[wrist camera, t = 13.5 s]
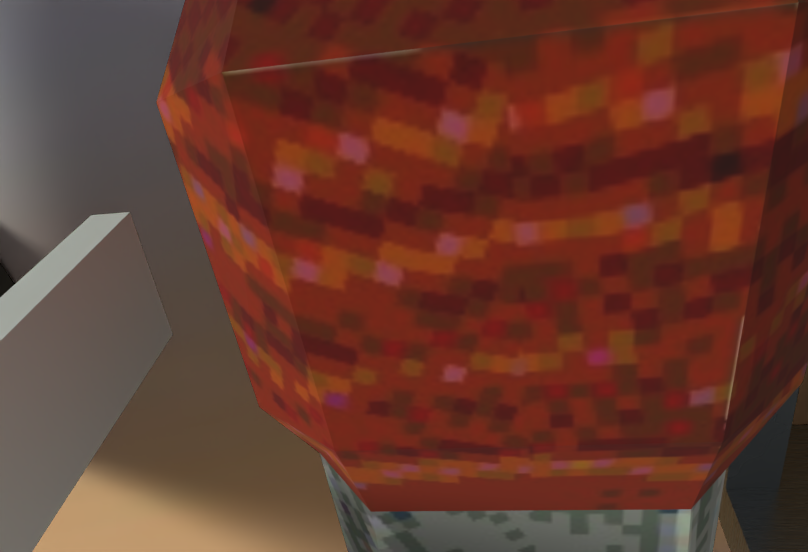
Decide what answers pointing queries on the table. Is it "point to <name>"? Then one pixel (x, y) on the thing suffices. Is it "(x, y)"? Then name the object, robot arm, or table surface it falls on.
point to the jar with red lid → (506, 251)
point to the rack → (769, 488)
